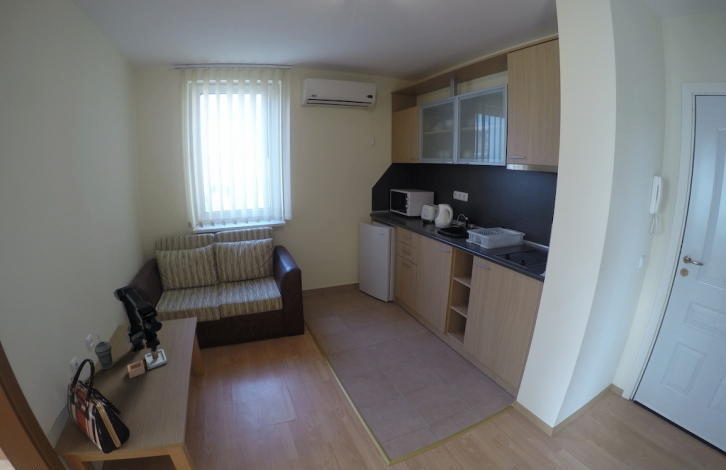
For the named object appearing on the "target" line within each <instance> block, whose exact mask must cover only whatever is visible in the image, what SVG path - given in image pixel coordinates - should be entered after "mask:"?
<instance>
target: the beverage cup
mask: <svg viewBox="0 0 726 470" xmlns="http://www.w3.org/2000/svg"><path fill="white" fill-rule="evenodd" d="M96 337H97V339H98V343H97V344H96V345H95V346H94V353H95V355H96V357H97V359H98V361H99V363H100V365H101V368H102V369H103V370H110V369H111V368H112V367H113V366H114V362H113V361H114V360H113V353H112V345H111V344H110V342H108V341H101V339H100V337H99V334H97V336H96Z"/></svg>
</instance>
